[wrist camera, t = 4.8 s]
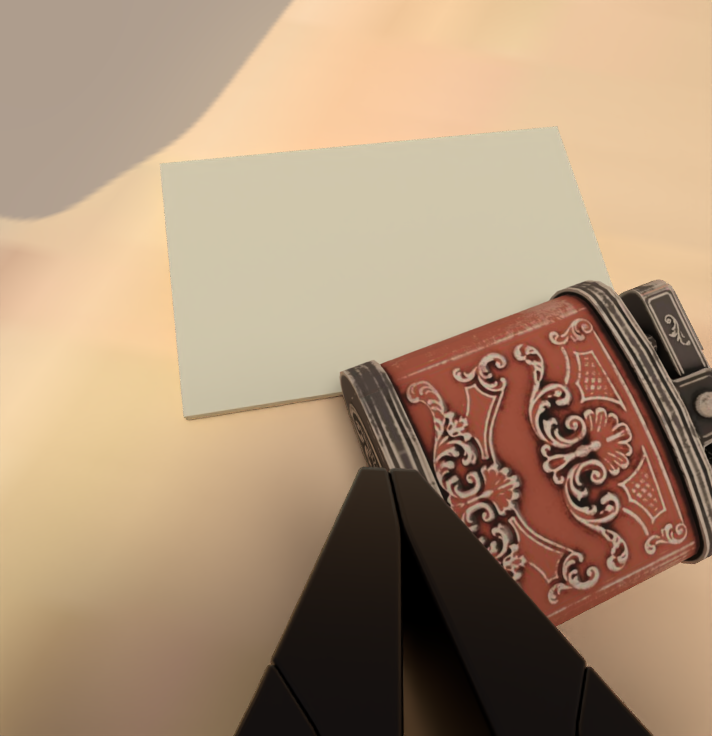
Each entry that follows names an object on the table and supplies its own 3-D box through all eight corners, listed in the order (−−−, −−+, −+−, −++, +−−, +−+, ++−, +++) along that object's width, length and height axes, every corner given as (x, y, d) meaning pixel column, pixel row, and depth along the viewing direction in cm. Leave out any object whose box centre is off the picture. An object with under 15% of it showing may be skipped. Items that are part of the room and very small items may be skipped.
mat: (187, 420, 15) (183, 416, 14) (164, 173, 17) (159, 163, 17) (624, 350, 17) (633, 345, 16) (551, 136, 19) (557, 126, 18)
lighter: (440, 652, 14) (725, 509, 16) (487, 711, 11) (840, 521, 12) (334, 381, 15) (614, 277, 17) (347, 359, 12) (693, 231, 13)
